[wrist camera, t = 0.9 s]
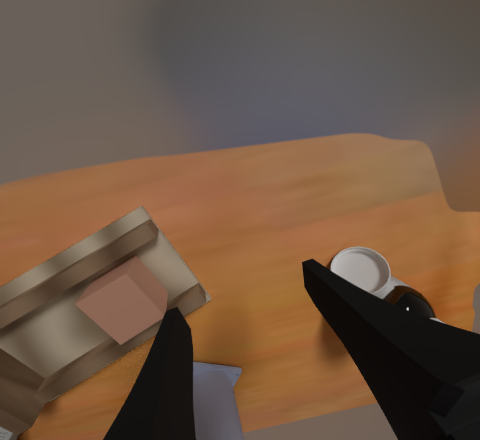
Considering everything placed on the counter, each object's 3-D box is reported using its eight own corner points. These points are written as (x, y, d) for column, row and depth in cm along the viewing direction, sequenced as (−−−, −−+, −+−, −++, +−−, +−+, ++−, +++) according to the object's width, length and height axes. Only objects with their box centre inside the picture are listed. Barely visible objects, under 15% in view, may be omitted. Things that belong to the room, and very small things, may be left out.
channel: (142, 205, 22) (131, 216, 17) (210, 296, 27) (215, 322, 22) (-62, 322, 20) (-129, 367, 16) (52, 396, 25) (25, 445, 21)
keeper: (135, 254, 22) (125, 273, 19) (168, 292, 24) (165, 316, 21) (93, 279, 22) (74, 304, 18) (130, 316, 24) (120, 344, 20)
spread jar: (350, 321, 35) (425, 393, 24) (299, 303, 31) (362, 381, 20) (390, 260, 33) (489, 308, 23) (342, 234, 29) (433, 277, 19)
